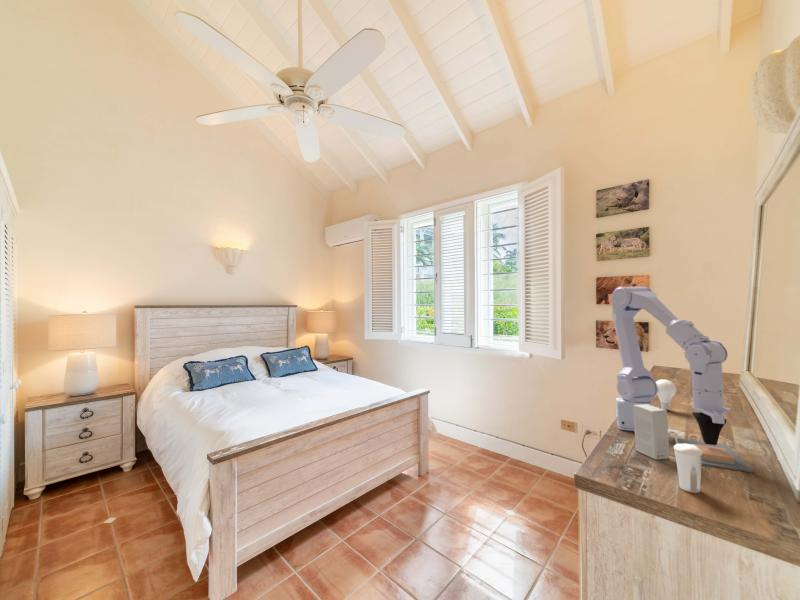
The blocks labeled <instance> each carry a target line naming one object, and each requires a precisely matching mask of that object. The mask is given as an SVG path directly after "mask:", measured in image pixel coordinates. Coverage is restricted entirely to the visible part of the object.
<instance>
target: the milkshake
mask: <svg viewBox="0 0 800 600" xmlns="http://www.w3.org/2000/svg"><path fill="white" fill-rule="evenodd" d="M673 438H675V440H674V441H675V445H673V453H674V458H675V459H674V460H675V464H676V470H677V477H678V478H677V479H678V485H679V488H680V489H682V490H683V491H685V492H688V493H693V494H698V493H701V480H702V465H701V464H702V451H701V449H699V448H698V447H697V446H695V445H693V444H686V443H684V444H679V443H678V440H677V435H676V434H673Z"/></svg>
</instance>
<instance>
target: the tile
mask: <svg viewBox="0 0 800 600" xmlns="http://www.w3.org/2000/svg"><path fill="white" fill-rule="evenodd" d="M694 445H695V446H697V447H698V448H699V449H701V451H702V460H706V461H712V462H719V463H726V464H732V465H735V461H734V457H733V456H732V455H731V454H730V453H729V452H728V451H727V450H726V449H725V448H720V447H712V446H705V445H697V444H694Z"/></svg>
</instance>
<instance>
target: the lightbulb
mask: <svg viewBox="0 0 800 600" xmlns="http://www.w3.org/2000/svg"><path fill="white" fill-rule="evenodd" d="M655 382H656V384H657V386H658V393H657V395H656V396H657V397H658V399H659V401H660V408H661V409H664V410H667V411H669V410H671V402H672V399H673V397H674V395H676V392H677V387H676V385H675V384H674V382H673V381H671V380H668V379H666V378H665V379H664V378H663V379H658V380H656V381H655Z"/></svg>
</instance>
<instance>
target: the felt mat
mask: <svg viewBox="0 0 800 600" xmlns="http://www.w3.org/2000/svg"><path fill="white" fill-rule="evenodd" d="M673 438H674V437H673ZM676 438H677V437H676ZM673 440H674V441H675V438H674V439H673ZM677 440H678V443H679V444H684V443H686V444H693V445H694V444H697V445H705V446H712V447H720V448H725V449H726V450H727V451H728V452H729V453H730V454H731V455H732V456H733V457H734V461H735V465H732V464H726V463H719V462H712V461H706V460H702V464H701V466H706V467H707V466H708V467H713V468H718V469H720V468H721V469H727V470H731V471H732V470H734V471H739V472H744V473H745V472H746V473H751V474H754V472H755V471H754V470H753V469H752V467H750V466H749V465H748V464H747V463H746V462H745V461H744V460H743V459H742V458H741V457H740V456H739V455H738V454H737V453H735V451H734V450H733V449H732V448H731V447H730V446H728V445H727V444H725V443H724V444H723V443H718V442H717V445H710V444H705V442H704V441H701V440H695V439H685V438H684V439H683V438H677Z"/></svg>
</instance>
